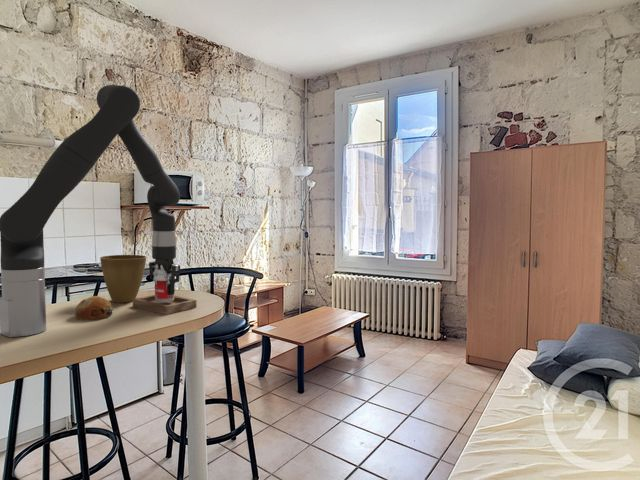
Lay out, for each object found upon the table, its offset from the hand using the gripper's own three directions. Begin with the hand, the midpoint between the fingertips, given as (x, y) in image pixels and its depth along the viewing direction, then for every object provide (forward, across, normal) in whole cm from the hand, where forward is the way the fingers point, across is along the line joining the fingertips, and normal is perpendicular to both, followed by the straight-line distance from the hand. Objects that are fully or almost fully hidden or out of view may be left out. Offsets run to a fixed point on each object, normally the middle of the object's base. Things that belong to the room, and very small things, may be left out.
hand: (164, 293), depth 136 cm
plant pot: (+5, +19, +3) cm, 20 cm away
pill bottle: (+3, 0, 0) cm, 3 cm away
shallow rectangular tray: (+5, 0, 0) cm, 5 cm away
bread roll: (+5, +6, +20) cm, 21 cm away
